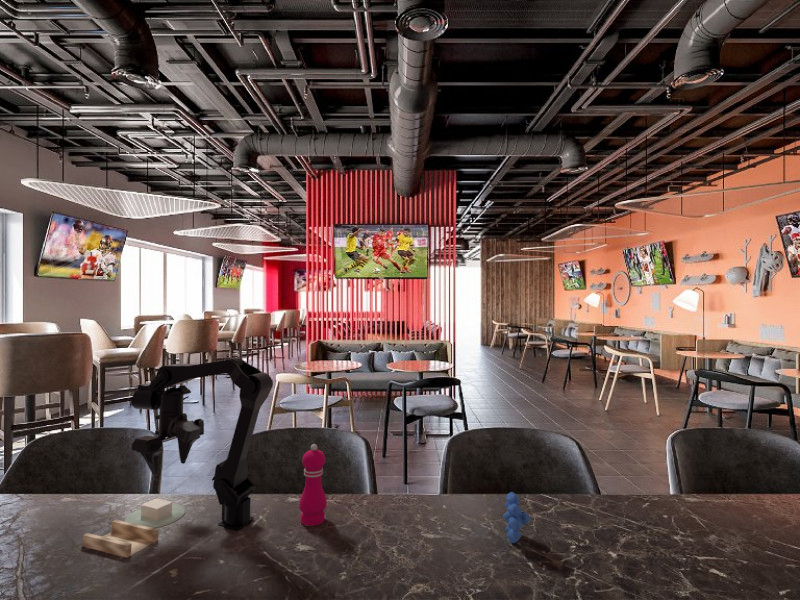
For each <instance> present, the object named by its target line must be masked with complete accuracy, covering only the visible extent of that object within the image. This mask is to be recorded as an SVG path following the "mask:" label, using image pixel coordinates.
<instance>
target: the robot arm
mask: <svg viewBox="0 0 800 600" xmlns="http://www.w3.org/2000/svg"><path fill="white" fill-rule="evenodd" d="M224 374H227V375H228V376H229V378H230V380H231V381H232V382H233V384H234V385H235V386H236V387H238V388H239V395H238V396H239V401H240V405H241V406H240V410H239V414H238V419H237V422H236V425H235V429H234V432H233V434H232V435H233V436H232V440H231V443H230V446H229V451H228V454H227V457H226V459H225V460H224V461H221V462H220V463H218V464H216V467H215V468H214V475H213V477H212V478H211V481H213V482H212V487H213V490H214V491H215V493H216V497H217V501H218V504H219V505H221V521H220V522H218V523H217V526H219V527H223V528H225V529H226V528H227V529H231V530H237V531H239V530H240V529H242V528H244V527H245V526H247V525H248V524H249V523H251V522H252V521H254V520H255V517H254V516H251V497H250V495H252V494H254V491H255V489H256V485H255V484H254V482H253V481H252V480H251V479H250V477H249V476H248V472H249V469H248V468H249V467H248V463H247V457H248V452H249V450H250V449H249V448H250V445H251V442H252V439H253V435H254V431H255V427H256V424H257V420H258V417H259V414H260V409H261V408H262V406H263V404H264V403H265V401H266V400H267V399H268V397H269V396H270V393H271V391H272V390H273V389H272V388H273V385H274V381H273V379H272V377H271V376H270V375H269V374H268V373H267V372H263V371H262V370H261V369H258V368H257V367H255V366H254V365H252V364H249V363H248V362H246V361H245V360H244V359H243V358H241V357H238V356H235V357H229V358H226V359H224V360H223V359H222V360H216V361H210V362H206V363H205V362H204V363H198V364H193V363H173V364H167V365H162V366H159V367H158V370H157V371H156V375H155V377H154V378H153V379H152V381H151V382H150V383H149V384H148V383H140V384H138V385H137V389H136V390H135V391H134V392H133V394H132V396H131V398H130V402H131V403H130V404H131V407H133V409H135V410H148V411H149V410H151V411H152V410H153V411H155V410H158V409H159V413H158V414H155V420H158V429H156V430H155V431H154V435H155V436H154V435H144V436H141V437H138V438H134V439H133V440H132V441H131V450H132V451H135V452H136V453H140V455H141V457H143V460H144V461H145V463H146V464H147V466H148V468H149V471H150V473H151V474H152V475H153V476H156V475H157V474H158V469H159V455H160V454H161V452H162V451H163V448H161V447H162V446H163V443H166V442H169V441H171V440H175V439H177V446H178V452H179V453H178V454H179V460H180V463H181V464H183V465H184V464H185V463H186V461H187V459H188V457H189V454H190V451H191V449H192V447H193V445H194V443H195V442H196V441H197V440H199V439H200V438H201V436H203V435H204V434H205V422H204V421H205V420H204V419H202V418H196V419H195V420H188V415H187V413H185V412H184V395H185V396H186V395H189V394H191V393H192V391H191V390H190V389H189V388H188V387H187V386H186V384H184V383H188V382H191V381H193V380H194V379H199V378H204V377H210V376H211V377H212V376H218V375H224ZM177 385H179V386H178V387H175V386H177ZM165 389H166V390H165ZM253 519H254V520H253ZM251 520H252V521H251ZM250 521H251V522H250Z"/></svg>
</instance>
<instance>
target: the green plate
mask: <svg viewBox="0 0 800 600" xmlns="http://www.w3.org/2000/svg"><path fill="white" fill-rule="evenodd" d="M185 514H186V507H185V506H183V505H182V504H178V503H172V514H170V515H168V516H166V517H163V518H161V519H159V520H157V521H156V520H152V519H149V518H145V517H141V508H139V509H137V510H135V511H133V512H131V513H130V514H129V515H127V516H126V517H125V519H124V522H128V523H133V524H137V525H142V526H146V527H151V528H155V529H158V528H160V527H165V526H167V525H170V524H172V523H174V522H176V521H178V520H180V519H181V518H182V517H183V516H184V515H185Z"/></svg>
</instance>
